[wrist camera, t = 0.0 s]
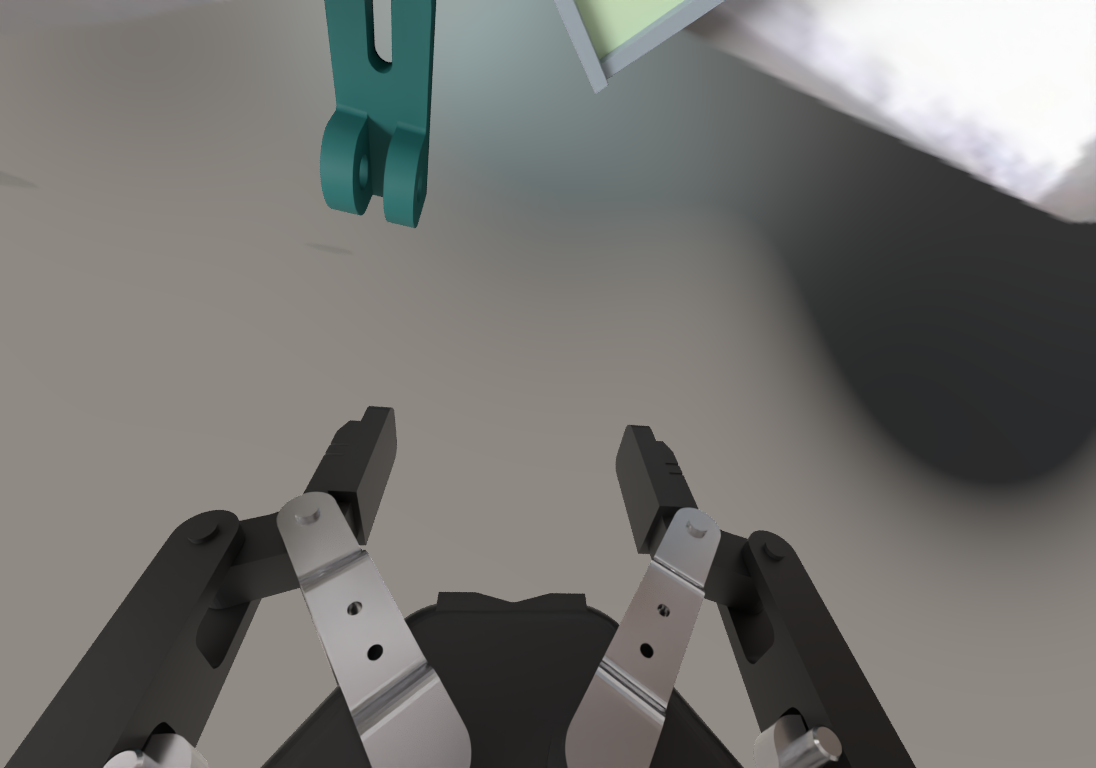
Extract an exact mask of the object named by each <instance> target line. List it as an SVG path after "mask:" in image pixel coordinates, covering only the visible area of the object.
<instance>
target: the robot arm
mask: <svg viewBox="0 0 1096 768" xmlns="http://www.w3.org/2000/svg"><path fill="white" fill-rule="evenodd" d="M396 449H397V439H396V427H395V416H394V409H393V408H389V407H374V406H369V407H368V408H367V410H366V412H365V414H364V416H363V418H362V420H361V421H349V422H348V423H346V424H345V425H344V426H343V427H341V428H340V429H339V430H338V431H337V432H336V434H335V436H334V438H333V440H332V442H331V445H330V446H329V447H328V449H327V451H326V454H325V455H324V456H323V459H322V460H321V462H320V464H319V466H318V468H317V469H316V472H315V473H314V475H313V477H312V479H311V481H310V482H309V484H308V486H307V488H306V490H305V492H304V493H303V494H302V495H299V496H297V497H295V498H293V499H291V500H290V501H288V502H287V503H286V504H285V505H284V506H283V507H282V508H281V510H280V511H279V512H276V513H274V514H270V515H266V516H261V517H256V518H251V519H247V520H242V521H239V520H238V518H237V516H236V515H235V514H234V513H232V512H229V511H224V510H213V511H208V512H204V513H201V514H198V515H196V516H194V517H192V518H190V519H188V520H186V521H185V522H183V523H182V524H181V525H180V526H178V527H177V528H176V529H175V530H174V532H173V533H172V534H171V535H170V537H169V538H168V540H167V541H166V542H165V544H164V545H163V546H162V548H161V549H160V551H159V552H158V553H157V555H156V556H155V558H154V559H153V560H152V562H151V563H150V565H149V566H148V567H147V569H146V570H145V571H144V573H143V574H142V576H141V577H140V579H139V580H138V581H137V583H136V584H135V586H134V587H133V588H132V590H131V591H130V592H129V594H128V595H127V597H126V598H125V600H124V601H123V602H122V604H121V605H120V606H119V608H118V609H117V611H116V612H115V613H114V615H113V616H112V618H111V619H110V620H109V622H108V623H107V625H106V626H105V627H104V629H103V630H102V632H101V633H100V634H99V636H98V637H97V639H96V640H95V641H94V643H93V644H92V646H91V647H90V648H89V650H88V651H87V653H86V654H85V655H84V657H83V658H82V660H81V661H80V662H79V664H78V665H77V667H76V668H75V670H74V671H73V672H72V674H71V675H70V676H69V678H68V679H67V681H66V682H65V683H64V685H63V686H62V687H61V689H60V690H59V692H58V693H57V695H56V696H55V697H54V699H53V700H52V701H51V703H50V704H49V706H48V707H47V708H46V710H45V711H44V713H43V714H42V716H41V717H40V718H39V720H38V721H37V722H36V724H35V725H34V727H33V728H32V730H31V731H30V732H29V734H28V735H27V736H26V738H25V740H24V741H23V742H22V743H21V745H20V746H19V748H18V749H17V750H16V752H15V753H14V755H13V756H12V757H11V759H10V760H9V762H8V763H7V764H6V766H5V767H4V768H209V765H208V762H207V761H206V759H205V758H204V757H203V756H202V755H201V754H200V753H199V752H198V751H197V750H196V749H195V747H196V745H197V742H198V740H199V738H200V736H201V733H202V731H203V729H204V727H205V725H206V722H207V720H208V718H209V716H210V713H211V711H212V709H213V707H214V704H215V702H216V700H217V698H218V695H219V693H220V691H221V689H222V686H223V684H224V682H225V679H226V677H227V675H228V673H229V670H230V668H231V666H232V664H233V662H234V659H235V657H236V655H237V652H238V650H239V648H240V646H241V644H242V641H243V639H244V637H245V635H246V632H247V630H248V628H249V626H250V623H251V621H252V619H253V617H254V614H255V612H256V610H257V607H258V605H259V603H260V601H261V599H262V598H264V597H268V596H272V595H275V594H279V593H282V592H286V591H290V590H293V589H297V588H300V589H301V592H302V594H303V597H304V600H305V602H306V605H307V607H308V610H309V612H310V615H311V618H312V620H313V623H314V625H315V628H316V631H317V633H318V636H319V638H320V641H321V644H322V647H323V649H324V652H325V655H326V657H327V660H328V663H329V665H330V668H331V671H332V673H333V676H334V678H335V681H336V683H337V687H336V688H335V690H334V691H333V692H332V693H331V694H330V695H329V696H328V697H327V698H326V699H325V700H324V701H323V702H322V703H321V704H320V705H319V707H318V708H317V709H316V710H315V711H314V712H313V713H312V714H311V715H310V716H309V717H308V718H307V719H306V720H305V721H304V722H303V723H302V724H301V726H300V727H299V728H298V729H297V730H296V731H295V732H294V733H293V734H292V735H291V736H290V737H289V738H288V739H287V740H286V741H285V742H284V744H283V745H282V746H281V747H280V748H279V749H278V750H277V751H276V752H275V753H274V754H273V755H272V756H271V757H270V758H269V759H268V760H267V762H265V764H264V765H263V766H262V767H261V768H743V767H742V765H741V764H740V763H739V762H738V761H737V759H736V758H735V757H734V756H733V755H732V754H731V753H730V752H729V750H728V749H727V748H726V747H725V746H724V744H723V743H722V742H721V741H720V740H719V739H718V738H717V736H716V735H715V734H714V733H713V732H712V731H711V729H710V728H709V727H708V726H707V725H706V724H705V722H704V721H703V720H702V719H701V718H700V717H699V715H698V714H697V713H696V712H695V711H694V710H693V708H692V707H691V706H690V705H689V704H688V703H687V702H686V701H685V699H684V698H683V697H682V696H681V695H680V693H679V692H678V691H677V690H676V689H675V688H674V683H675V681H676V678H677V675H678V672H679V669H680V666H681V663H682V660H683V657H684V654H685V651H686V648H687V645H688V643H689V640H690V637H691V634H692V631H693V628H694V625H695V622H696V619H697V616H698V613H699V610H700V607H701V604H702V601H703V598H705V599H708V600H711V601H714V602H716V603H717V605H718V608H719V611H720V614H721V617H722V620H723V623H724V626H725V629H726V632H727V635H728V637H729V640H730V643H731V646H732V649H733V652H734V655H735V658H736V661H737V664H738V667H739V670H740V672H741V675H742V678H743V681H744V684H745V687H746V690H747V693H748V696H749V699H750V702H751V704H752V707H753V710H754V713H755V716H756V719H757V722H758V725H759V728H760V731H761V734H760V735H759V736H758V737H757V739H756V741H755V745H754V761H755V765H756V768H916V767H915V765H914V763H913V761H912V760H911V758H910V756H909V754H908V752H907V751H906V749H905V747H904V745H903V744H902V742H901V740H900V738H899V736H898V735H897V733H896V731H895V729H894V728H893V726H892V724H891V722H890V720H889V718H888V717H887V715H886V713H885V711H884V710H883V708H882V706H881V704H880V702H879V701H878V699H877V697H876V695H875V693H874V692H873V690H872V688H871V686H870V685H869V683H868V681H867V679H866V678H865V676H864V674H863V672H862V670H861V668H860V667H859V665H858V663H857V662H856V660H855V658H854V656H853V654H852V653H851V651H850V649H849V647H848V645H847V643H846V642H845V640H844V638H843V636H842V635H841V633H840V631H839V629H838V628H837V626H836V624H835V622H834V620H833V619H832V617H831V615H830V613H829V611H828V610H827V608H826V606H825V604H824V602H823V600H822V599H821V597H820V595H819V594H818V592H817V590H816V588H815V586H814V584H813V583H812V581H811V579H810V577H809V576H808V574H807V572H806V570H805V569H804V567H803V565H802V563H801V561H800V559H799V558H798V556H797V554H796V552H795V551H794V549H793V548H792V547H791V546H790V545H789V544H788V543H787V542H786V541H785V540H784V539H782V538H781V537H779V536H778V535H776V534H774V533H771V532H768V531H760V530H759V531H755V532H753V533H752V534H751V535H750V537H749V538H748V539H746V538H743V537H740V536H737V535H733V534H731V533H728V532H724V531H722V530H720V529H719V527H718V525H717V523H716V522H715V521H714V520H713V519H712V518H711V517H710V516H709V515H708V514H706V513H705V512H703V511H701V510H699V509H698V507H697V505H696V502H695V500H694V498H693V496H692V494H691V491H690V489H689V487H688V485H687V483H686V480H685V478H684V476H683V475H682V471H681V469H680V467H679V466H678V462H677V460H676V458H675V456H674V453H673V452H672V451H671V450H670V448H669V447H668V446H667V445H666V444H665V443H664V442H663V441H656V440H655V437H654V435H653V432H652V430H651V429H650V427H649V426H638V425H628V426H627V427H626V429H625V432H624V435H623V438H622V442H621V444H620V447H619V450H618V453H617V457H616V473H617V477H618V481H619V484H620V488H621V491H622V495H623V499H624V503H625V507H626V510H627V514H628V517H629V521H630V525H631V529H632V532H633V536H634V540H635V544H636V547H637V551H638V553H640V554H650V556H651V558H652V561H651V563H650V566H649V567H648V569H647V572H646V573H645V575H644V577H643V580H642V581H641V583H640V585H639V588H638V589H637V592H636V593H635V595H634V597H633V599H632V601H631V603H630V605H629V607H628V609H627V611H626V613H625V616H624V617H623V619H622V621H621V623H620V625H619V624H618V623H617V622H616V621H615V620H613V619H612V618H610V617H609V616H608V615H606V614H605V613H603V612H601V611H599V610H597V609H595V608H593V607H590V606H587V605H586V598H585V594H560V593H550V594H546V595H542V596H538V597H534V598H531V599H527V600H523V601H519V602H508V601H504V600H501V599H498V598H494V597H491V596H487V595H483V594H480V593H476V592H439V594H438V600H437V604H434V605H430V606H427V607H425V608H422V609H420V610H418V611H416V612H414V613H412V614H410V615H409V616H408V617H406V618H403V616H402V615H401V613H400V611H399V609H398V607H397V605H396V604H395V602H394V600H393V598H392V596H391V594H390V592H389V591H388V589H387V587H386V585H385V583H384V582H383V579H382V578H381V576H380V574H379V572H378V570H377V568H376V566H375V564H374V563H373V561H372V559H371V557H370V555H369V554H368V552H367V551H366V550H363V551H362V549H361V548H360V546H359V545H366V544H367V541H368V537H369V535H370V532H371V529H372V526H373V523H374V520H375V517H376V514H377V511H378V508H379V505H380V502H381V499H382V496H383V493H384V490H385V487H386V484H387V481H388V478H389V475H390V472H391V469H392V466H393V463H394V460H395V456H396Z"/></svg>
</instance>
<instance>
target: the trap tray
mask: <svg viewBox="0 0 1096 768" xmlns="http://www.w3.org/2000/svg"><path fill="white" fill-rule="evenodd" d="M723 1H725V0H554V2H555V4H556V6H557V9H558V11H559V13H560V15H561V18H562V20H563V22H564V24H565V27H566V29H567V31H568V34H569V35H570V38H571V40H572V43H573V45H574V47H575V49H576V51H577V54H578V56H579V58H580V61H581V63H582V65H583V67H584V70H585V72H586V74H587V76H588V79H589V81H590V83H591V85H592V88H593V90H594V92H595V94H596V93H597V92H599V91H600V90H602V89H603V88H605V87H606V86H608V82H607V79H608V78H610V77H611V76H613V75H614V74H616V73H617V72H619V71H620V70H622V69H623V68H625V67H626V66H628V65H629V64H631V63H632V62H634V61H635V60H637V59H638V58H640V57H641V56H643V55H644V54H646V53H647V52H649V51H650V50H652V49H653V48H655V47H656V46H658V45H659V44H661V43H662V42H664V41H665V40H667V39H668V38H670V37H671V36H673V35H674V34H676V33H677V32H679V31H680V30H682V29H683V28H685V27H686V26H688V25H689V24H691V23H692V22H694V21H695V20H697V19H698V18H700V17H701V16H703V15H704V14H706V13H707V12H708V11H710V10H711V9H713V8H714V7H716V6H717V5H719V4H720V3H722V2H723Z"/></svg>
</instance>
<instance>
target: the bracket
mask: <svg viewBox="0 0 1096 768" xmlns="http://www.w3.org/2000/svg"><path fill="white" fill-rule="evenodd" d="M324 1H325V9H326V18H327V26H328V34H329V43H330V52H331V61H332V68H333V77H334V86H335V94H336V104H337V106H336V111H335V112H334V114H333V115H332V117H331V119H330V120H329V122H328V124H327V126H326V128H325V131H324V135H323V140H322V146H321V156H320V173H321V174H320V175H321V185H322V191H323V195H324V199H325V201H326V203H327V205H328V206H329V207H330V208H331V209H336V210H340V211H344V212H348V213H353V214H357V215H363V214H364V213H365V211H366V209H367V207H368V204H369V202H370V199H371V197H372V195H377V196H381V197H383V199H384V200H383V201H384V213H385V218H386V220H387V221H388V222H391V223H395V224H400V225H404V226H409V227H413V228H416V227H417V225H418V222H419V218H420V215H421V211H422V208H423V204H424V201H425V197H426V194H427V175H428V155H429V135H430V115H431V95H432V75H433V55H434V36H435V16H436V0H391V11H392V12H391V15H392V62H387V61H385V60H383V59H382V58H381V57H380V56H379V55H378V53H377V51H376V48H375V39H374V38H375V37H374V14H373V0H324Z"/></svg>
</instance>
